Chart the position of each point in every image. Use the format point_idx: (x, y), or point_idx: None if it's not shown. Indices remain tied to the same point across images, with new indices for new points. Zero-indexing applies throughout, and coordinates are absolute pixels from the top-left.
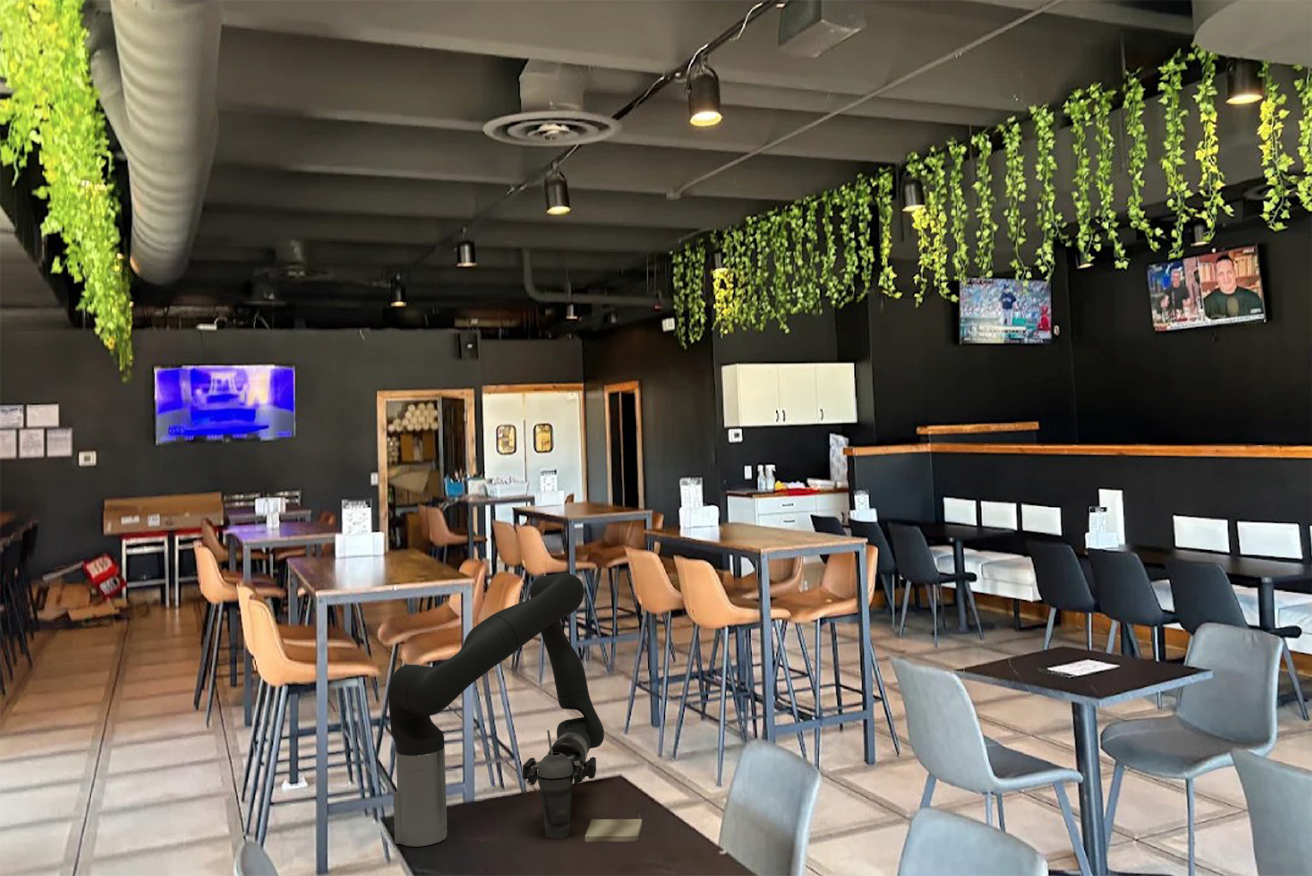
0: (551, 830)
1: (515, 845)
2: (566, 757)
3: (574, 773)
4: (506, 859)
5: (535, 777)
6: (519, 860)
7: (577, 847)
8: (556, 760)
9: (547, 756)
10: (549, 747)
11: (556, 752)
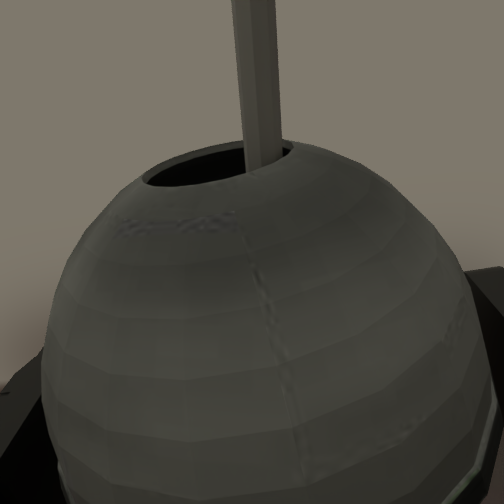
0: None
1: (496, 475)
2: (82, 237)
3: None
4: None
5: (498, 371)
6: None
7: None
8: (202, 171)
9: (306, 144)
10: (272, 43)
11: (197, 185)
